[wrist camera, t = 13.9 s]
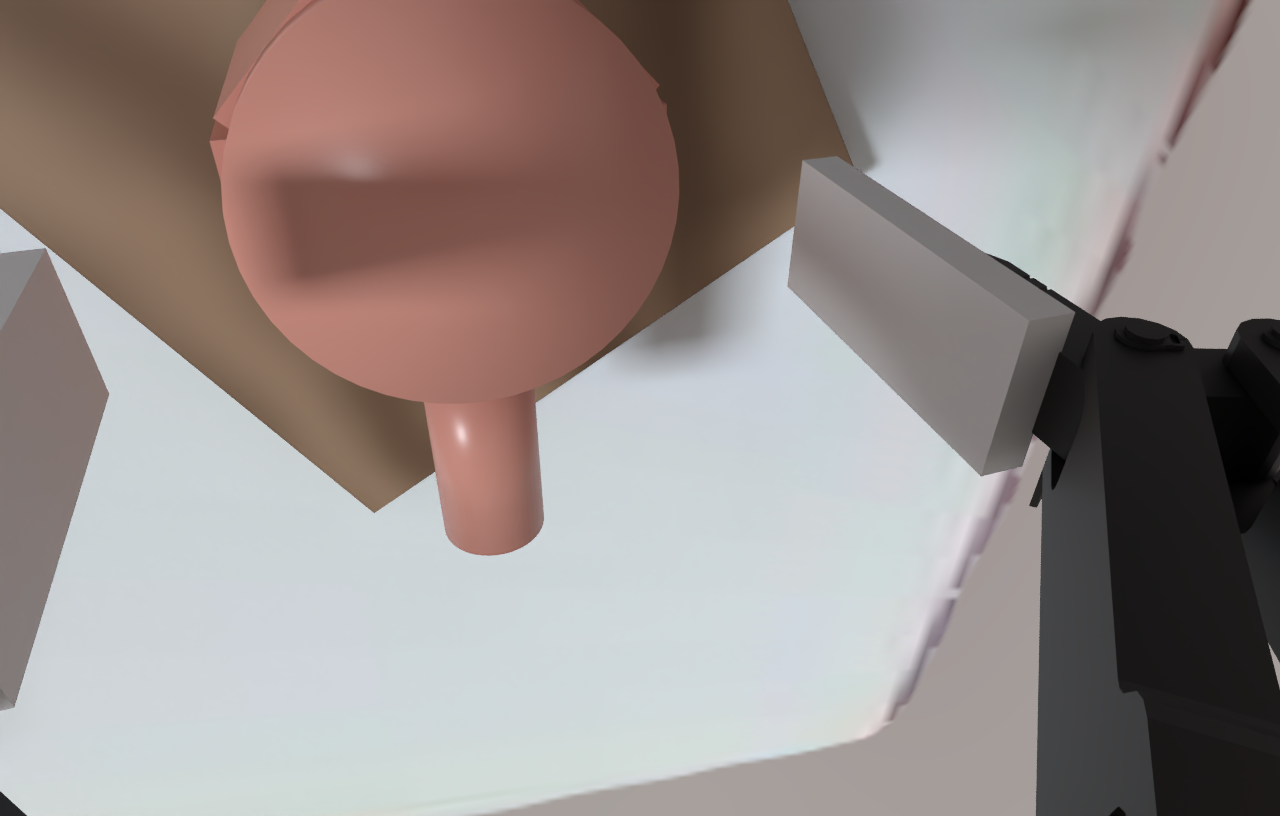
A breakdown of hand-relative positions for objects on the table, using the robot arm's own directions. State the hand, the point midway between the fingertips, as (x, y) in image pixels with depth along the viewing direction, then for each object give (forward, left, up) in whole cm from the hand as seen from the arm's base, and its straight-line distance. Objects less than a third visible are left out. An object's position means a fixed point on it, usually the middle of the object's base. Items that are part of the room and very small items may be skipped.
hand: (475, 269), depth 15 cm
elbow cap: (-1, -3, -11) cm, 11 cm away
